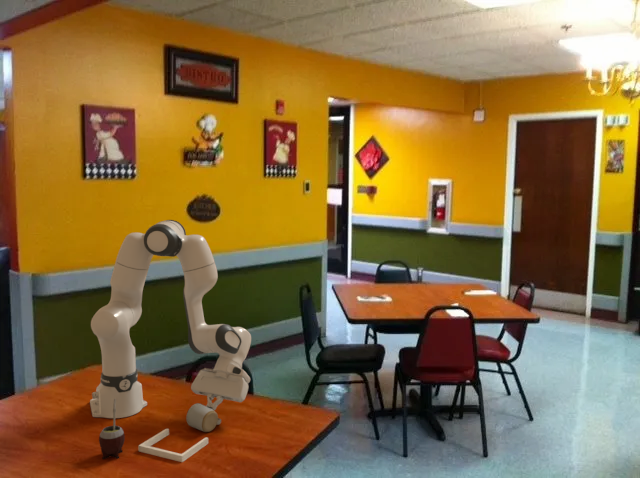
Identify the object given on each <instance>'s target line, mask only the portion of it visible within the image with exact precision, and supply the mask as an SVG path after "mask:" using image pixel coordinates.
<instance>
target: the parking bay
mask: <svg viewBox="0 0 640 478" xmlns="http://www.w3.org/2000/svg"><path fill="white" fill-rule="evenodd" d="M167 436H170V428H165V429H163V430H162V431H160V432H158V433H157V434H155V435H153V436H152V437H150V438H148V439H147V440H145V441H144V442H142V443H140V444H139V445H138V448H137V449H138V452H141V453H144V454H148V455H152V456H157V457H160V458H163V459H168V460H172V461H176V462H179V463H180V462H181V463H184V462H185V461H186V460H187V459H189V458H190V457H192V456H193V455H194V454H196V453H197V452H199V451H200V450H201V449H203V448H205V446H207V445H208V444H209V437H204V438H203V439H201V440H199V441H198V442H196V443H195V444H194V445H192V446H191V447H190V448H188V449H186V450H185V451H183V452H182V453H178V452H174V451H172V450H171V451H170V450H167V449H163V448H159V447H154V446H153V445H155V444H156V443H158V442H159V441H161V440H163V439H164V438H166V437H167Z"/></svg>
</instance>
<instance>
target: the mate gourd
mask: <svg viewBox="0 0 640 478" xmlns="http://www.w3.org/2000/svg"><path fill="white" fill-rule="evenodd" d="M115 406H116V399H114V407H113V418H112V420H113V421H112V425H110V426H106V427H104V428H103V429H102V430H101V431H100V433H99V437H98V442H99V443H98V444H99V446H100V450H101V454H102V457H101V458H102V460H106V459H108V458H111V457H112V458H114V459H116V460H117V459H120V456H119V454H120V453H123V446H124V444H125V440H126V439H125V438H126V436H125V432H124V429H123V428H122V427H121V426H119V425H116V418H115V412H116V409H115Z"/></svg>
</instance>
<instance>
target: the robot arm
mask: <svg viewBox="0 0 640 478" xmlns="http://www.w3.org/2000/svg"><path fill="white" fill-rule="evenodd" d="M186 233H187V232H186V229H185V227H184V225H183V224H181V223H180V222H179V221H177V220H174V219H166V220H163V221H162V220H161V221H159V222H157V223H155V224H153V225H152V226H149V228H148V229H147V230H146V232H145V233H142V232H137V231H136V232H131V233H129V234H127V235H126V236H125V238H124V240H123V242H122V244H121V245H120V249H119V250H118V253H117V256H116V259H115V263H114V267H113V270H112V274H111V276H110V277H111V278H110V282H109V284H110V286H111V292H110V293H111V294H110V300H109V302H108V304H106V305H104V306H102V307H101V308H99V309H98V310H97V311H96V312H95V314H94V315H93V317H91V320H90V329H91V331H92V333H93V334H94V336H96V337H97V340H98V343H99V346H100V350H101V351H100V354H101V366H102V367H101V368H102V371H101V374H100V383H99V384H98V386H97V387H96V388H95V389H96V390H95V391H94V392H92V393H91V398H92V399H90V400H89V405H90V406H89V407H90V411H91V415H92V417H93V418H105V419H113V407H114V399H116V406H115V409H116V412H115V419H120V418H121V419H122V418H127V417H131V416H133V415H136V414H138V413H139V412H140V411H142V409H143V408H145V407H147V406H148V402H147V401H146V400H144V398H143V397H144V396H143V395H144V394H143V385H142V383H141V382H140V381H138V375H139V374H138V369H137V364H136V363H137V362H136V347H135V346H134V345H133V343H132V339H131V337H130V335H131V334H130V329H131V328H132V327H133V326H135V325H136V324H137V322H138V321H139V320H140V319H141V316H142V312H143V309H142V301H143V290H144V286H145V284H146V283H145V282H146V280H147V275H148V272H149V268H150V266H151V265H150V264H151V261H152V259H153V257H154V256H156V257H170V258H171V257H177V258H178V260H179V262H180V265H181V268H182V272H183V273H182V274H183V276H184V277H183V278H184V287H183V290H182V294H183V295H182V296H183V303H184V310H185V317H186V322H187V341H188V346H189V348H190V349H191V350H192V351H193V352H194V353H195V354H197V355H203V354H211V353H212V354H213V353H214V354H215V353H217V355H219V356H218V358H217V360H216V363H215V364H214V368H207V367H204V368H202V369H200V370H199V371H198V373H197V375H196V377H195V379H194V380H193V382H192V383H191V385H190V389H191V391H192V393H194V394H196V395H199V396H200V395H202V396H207V397H206V398H207V399H206V400H207V404H206V405H205V406H206V407H208V408H210V409H212V410H214V411H216V409H217V407H218V406H219V405H220V404H222V403H223V401H224V400H227V401H233V402H238V403H242V402H244V401H245V400H246V397H247V394H248V391H249V383H250V382H251V377H250V376H249V375H248V373H247V372H246V371H245V370H244V369H243V362H244V361H245V359H246V358H247V356H248V354H249V350H250V348H251V344H252V334H251V333H250V331H248V330H247V329H246V328H244V327H242V326H231V325H230V324H225V323H219V324H218V323H217V324H207V323H206V321H205V317H204V315H205V314H204V309H203V303H202V301H203V298H204V295H206V294H207V293H208V292H209V291H210V290H212V289H213V287H215V285H216V284H217V281H218V279H219V278H218V277H219V276H218V269H217V265H216V262H215V258H214V255H213V253H212V250H211V248H210V245H209V243H208V242H207V240H206V238H205V237H204V236H203V235H200V234H189V235H187V234H186ZM214 398H216V400H215V401H214ZM212 401H214V402H212Z"/></svg>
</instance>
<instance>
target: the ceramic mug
mask: <svg viewBox="0 0 640 478" xmlns="http://www.w3.org/2000/svg"><path fill="white" fill-rule="evenodd" d="M206 406H207V405H204V404H202V403H198V402H197V403H194V404H192V405H191V407H190V408H189V409H188V411H187V413H186V417H185V418H186V419H185V420H186V422H187V425H188V426H189V427H191V428H193V429H196V430H199V431H202V432H204V433H209V432H211V431H213V430H214V429H215V428H216V427H217V426H218V425H221V423H222V419H221V418H219V416H218V415H219V414H218V413H217V412H216V410H212V409H210V408H208V407H206Z"/></svg>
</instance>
